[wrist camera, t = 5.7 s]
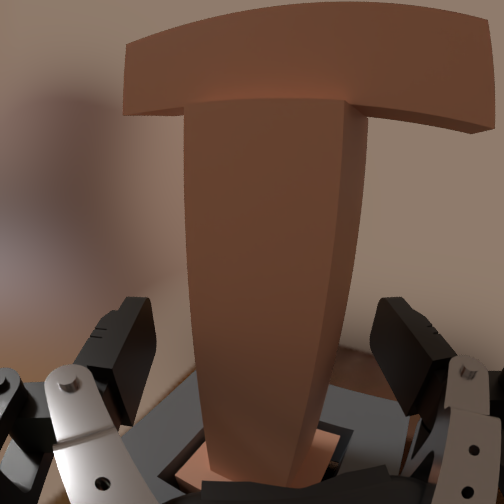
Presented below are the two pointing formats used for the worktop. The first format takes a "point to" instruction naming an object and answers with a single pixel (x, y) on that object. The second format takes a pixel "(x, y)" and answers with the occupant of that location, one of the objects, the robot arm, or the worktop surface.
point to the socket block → (331, 420)
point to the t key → (289, 197)
